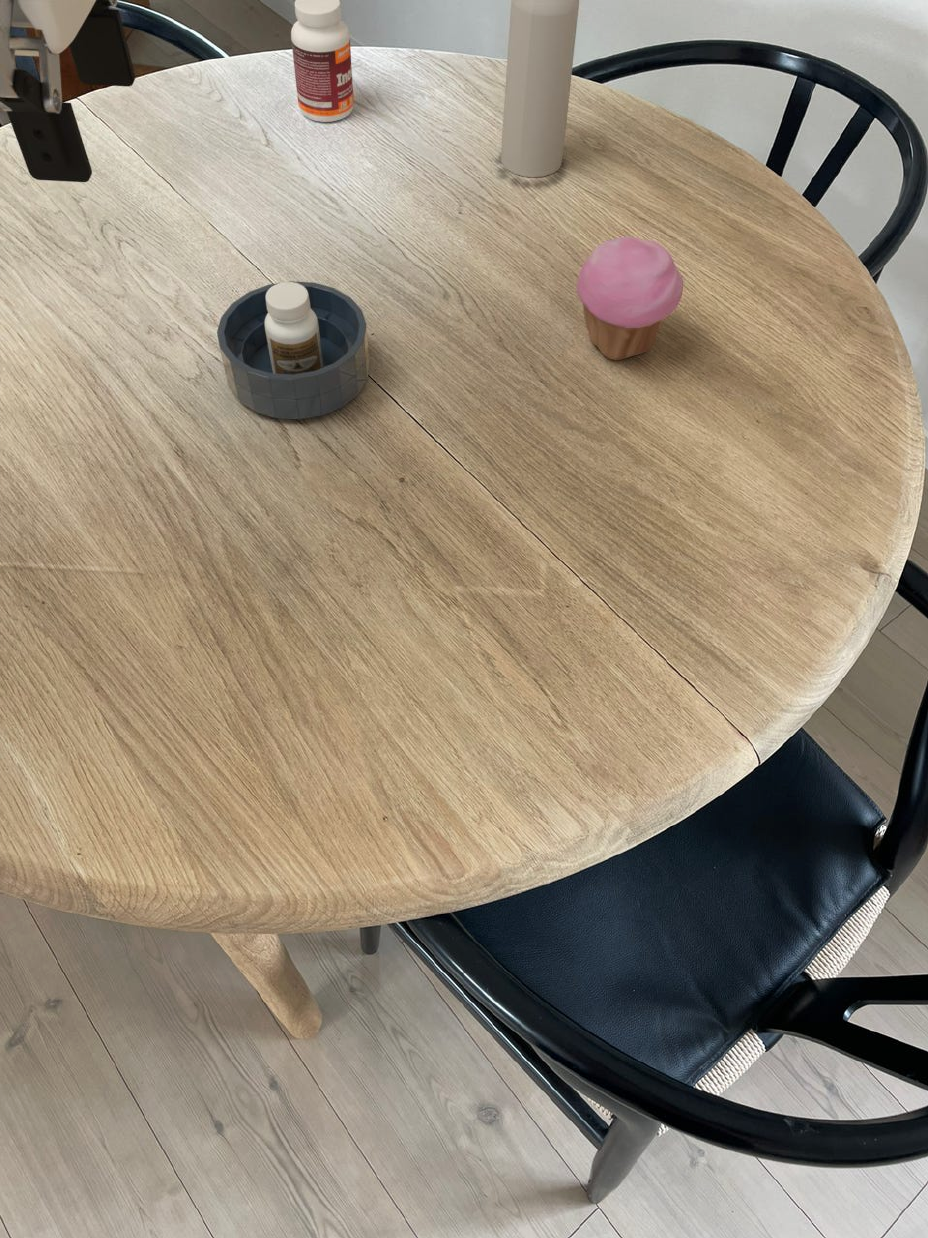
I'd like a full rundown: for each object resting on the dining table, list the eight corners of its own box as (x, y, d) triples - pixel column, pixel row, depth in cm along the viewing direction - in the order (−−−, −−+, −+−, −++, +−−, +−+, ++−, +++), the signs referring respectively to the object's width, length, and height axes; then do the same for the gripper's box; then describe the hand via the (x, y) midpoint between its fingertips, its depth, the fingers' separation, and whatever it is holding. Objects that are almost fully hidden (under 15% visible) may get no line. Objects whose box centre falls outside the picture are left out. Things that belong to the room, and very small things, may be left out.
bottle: (515, 136, 107) (538, -180, 84) (571, 152, 105) (610, -165, 82) (490, 166, 103) (507, -155, 80) (547, 183, 102) (581, -139, 79)
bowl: (216, 420, 81) (204, 374, 77) (241, 324, 88) (232, 277, 84) (361, 428, 81) (357, 382, 77) (375, 331, 88) (372, 285, 84)
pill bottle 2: (277, 390, 83) (264, 316, 76) (268, 357, 85) (255, 282, 79) (328, 381, 84) (319, 307, 77) (318, 348, 86) (308, 273, 79)
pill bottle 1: (350, 125, 107) (343, 18, 98) (294, 122, 107) (282, 15, 98) (357, 96, 111) (351, -11, 101) (303, 92, 111) (292, -14, 102)
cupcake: (685, 357, 87) (711, 261, 79) (607, 391, 85) (626, 295, 76) (625, 301, 91) (645, 204, 83) (549, 332, 89) (561, 235, 80)
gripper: (-53, -336, 45) (63, 48, 60) (-215, -205, 36) (-31, 216, 50) (107, -328, 45) (185, 54, 60) (-12, -194, 36) (115, 224, 50)
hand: (86, 128), depth 55 cm, fingers open, 9 cm apart
